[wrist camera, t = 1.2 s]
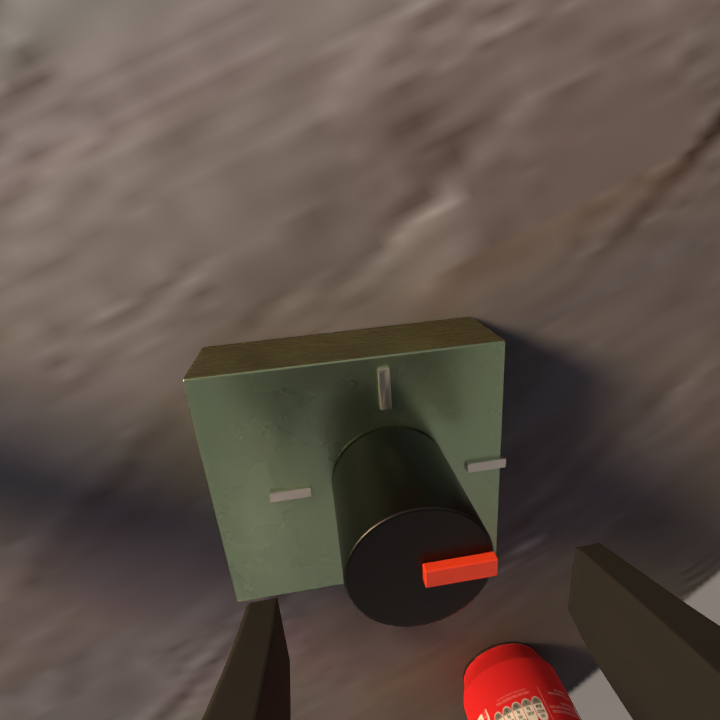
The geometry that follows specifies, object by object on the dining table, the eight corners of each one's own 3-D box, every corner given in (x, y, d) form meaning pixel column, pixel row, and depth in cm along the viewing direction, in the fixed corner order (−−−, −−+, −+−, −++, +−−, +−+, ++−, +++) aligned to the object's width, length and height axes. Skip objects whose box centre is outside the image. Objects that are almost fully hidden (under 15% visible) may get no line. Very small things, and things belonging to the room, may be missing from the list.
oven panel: (245, 543, 19) (235, 607, 16) (201, 346, 16) (179, 381, 13) (471, 507, 20) (501, 561, 17) (474, 315, 17) (512, 341, 14)
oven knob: (338, 533, 16) (352, 650, 12) (326, 435, 14) (337, 530, 10) (447, 516, 16) (497, 623, 12) (446, 418, 14) (503, 504, 10)
